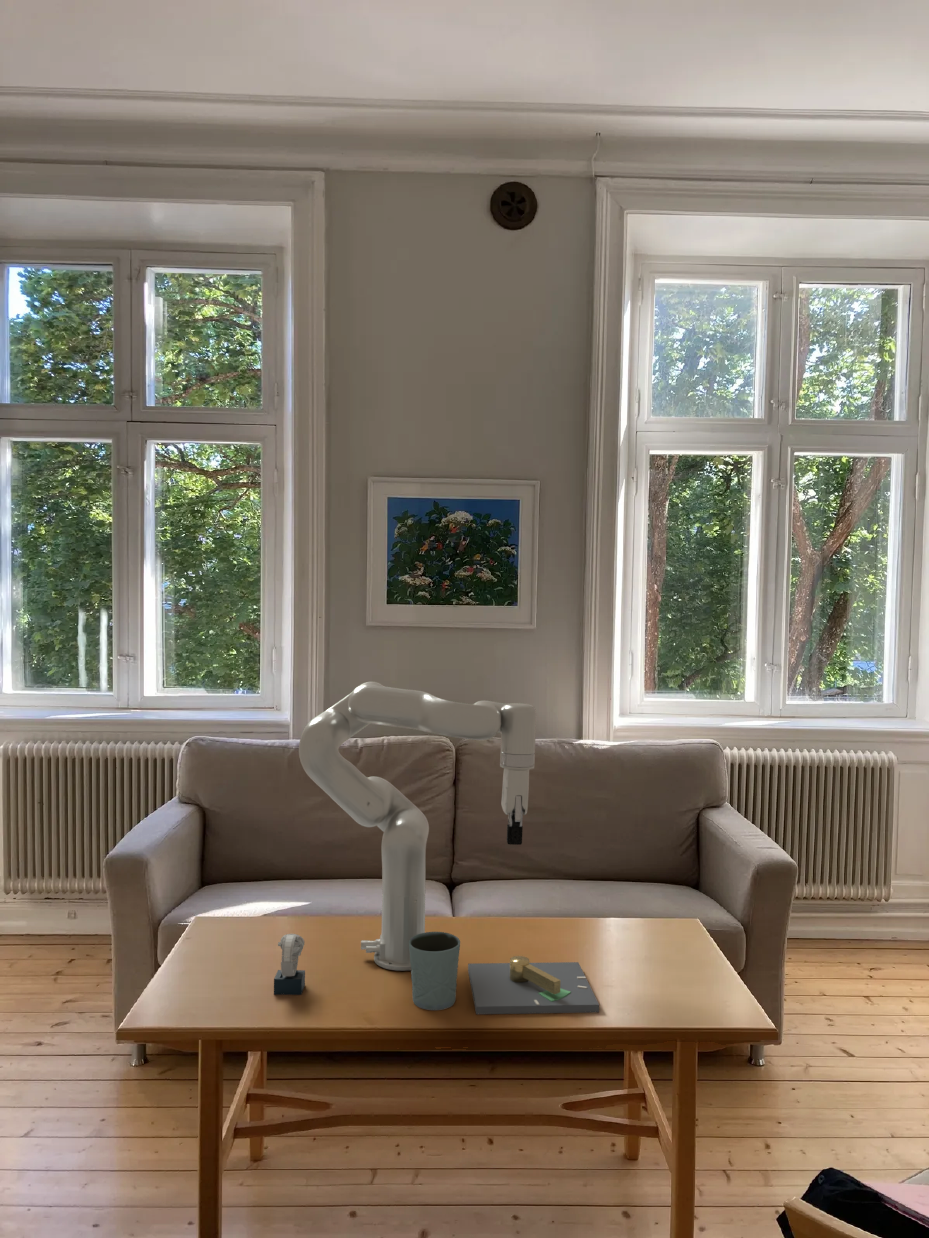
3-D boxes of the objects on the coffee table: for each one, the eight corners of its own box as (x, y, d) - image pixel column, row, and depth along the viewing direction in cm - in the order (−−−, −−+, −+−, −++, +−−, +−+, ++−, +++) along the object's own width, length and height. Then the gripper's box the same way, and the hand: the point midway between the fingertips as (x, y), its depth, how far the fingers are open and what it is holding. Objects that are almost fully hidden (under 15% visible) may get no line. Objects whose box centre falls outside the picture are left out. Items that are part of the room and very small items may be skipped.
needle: (505, 976, 182) (506, 958, 182) (520, 972, 184) (520, 954, 184) (549, 1001, 171) (549, 982, 171) (564, 996, 173) (565, 977, 173)
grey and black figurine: (306, 980, 182) (307, 928, 182) (299, 998, 174) (300, 943, 174) (279, 980, 182) (279, 928, 182) (271, 998, 174) (272, 943, 174)
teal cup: (467, 995, 177) (468, 936, 176) (445, 1017, 168) (446, 954, 167) (422, 985, 181) (423, 927, 181) (398, 1005, 172) (399, 945, 171)
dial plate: (476, 1014, 169) (476, 1005, 169) (468, 970, 189) (468, 962, 189) (599, 1012, 171) (599, 1003, 171) (578, 968, 191) (578, 961, 191)
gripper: (497, 753, 199) (494, 833, 200) (503, 766, 184) (500, 853, 185) (530, 754, 200) (527, 834, 200) (539, 767, 185) (535, 853, 185)
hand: (514, 843), depth 192 cm, fingers closed
